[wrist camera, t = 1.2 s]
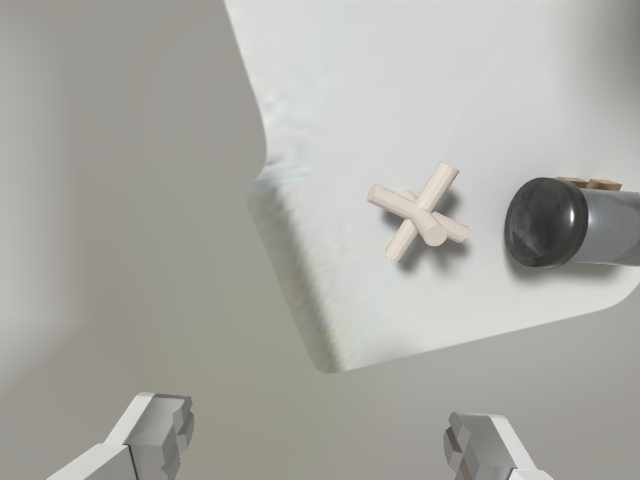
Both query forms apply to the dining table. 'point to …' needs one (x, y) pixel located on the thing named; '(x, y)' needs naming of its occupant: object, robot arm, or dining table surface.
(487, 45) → the dining table surface
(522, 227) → the lidded storage canister
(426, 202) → the beige crossed rods piece
